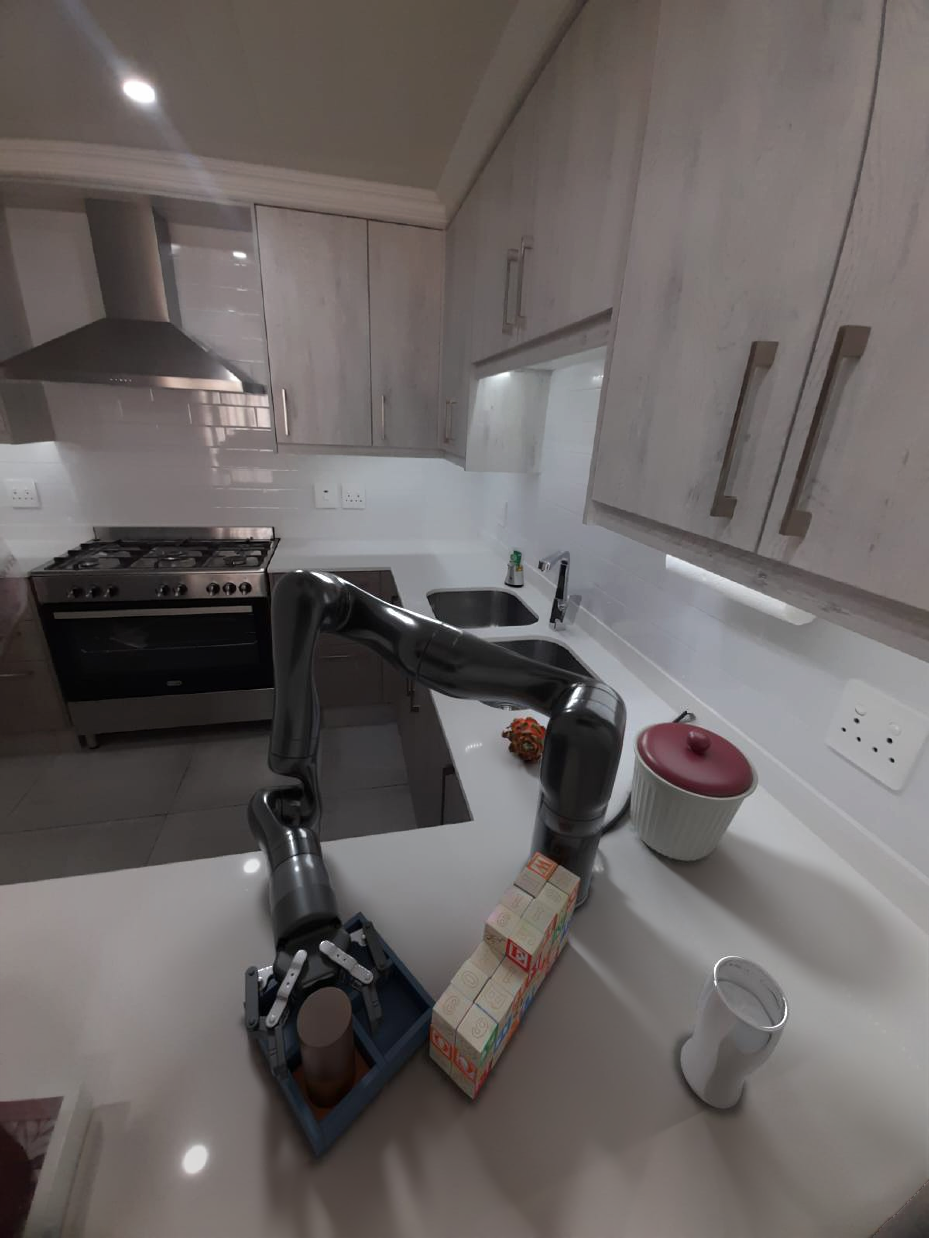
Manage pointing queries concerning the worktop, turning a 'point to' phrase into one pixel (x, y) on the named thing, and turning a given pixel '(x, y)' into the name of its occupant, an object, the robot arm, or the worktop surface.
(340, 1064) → the brown cylinder
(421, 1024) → the grid
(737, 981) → the beer glass
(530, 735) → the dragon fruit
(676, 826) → the canister
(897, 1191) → the worktop surface
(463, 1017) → the stack of blocks
